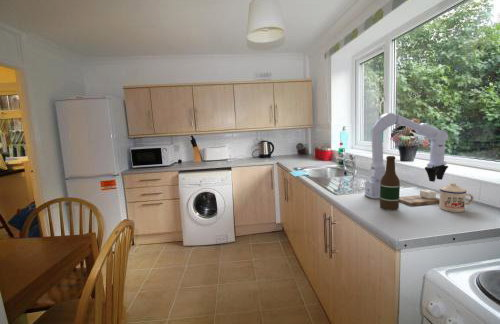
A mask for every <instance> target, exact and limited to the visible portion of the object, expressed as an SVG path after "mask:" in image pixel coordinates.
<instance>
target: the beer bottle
mask: <svg viewBox="0 0 500 324" xmlns="http://www.w3.org/2000/svg"><path fill="white" fill-rule="evenodd" d="M385 159H386V164H385V174H384V176H383V177H382V179H381V184H380V198H379V208H380V209H383V210H384V211H398V210H399V208H400V202H399V197H400V192H401V191H400V185H401V182H400V179H399V177H398V175H397V172H396V156H394V155H387V156H386V157H385Z"/></svg>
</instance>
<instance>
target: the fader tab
mask: <svg viewBox="0 0 500 324" xmlns="http://www.w3.org/2000/svg"><path fill="white" fill-rule="evenodd" d="M419 190H420V191H419V195H420V196H422V197H425V198H428V199H429V198H437V197H436V196H437V191H434V190H430V189H419Z"/></svg>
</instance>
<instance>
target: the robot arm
mask: <svg viewBox="0 0 500 324" xmlns="http://www.w3.org/2000/svg"><path fill="white" fill-rule="evenodd" d="M394 125H401V126H403V127H407V128H410V129H411V130H414V132H415V134H417V135H420V136H422V137H425V138H427V139H429V140H430V148H429V149H430V151H429V152H430V154H429V162H428V163H427V164H426V166H425V167H424V170H425V171H426V173H427V177H428V181H429V182H433V183H435V182H436V180H441V181H442V180H443V178H444V175H445V173H446V171H447V169H449V166H448V165H447V161H446V160H445V151H446V150H445V148H446V141H447V140H448V139H449V135H448V133H447V131H446V130H443V129H439V128H438V127H436V126H435V127H434V126H431V125H429V123H427V122H425V123H424V122H422V123H417V122H415V121H412V120H410V119H409V118H406V117H404V116H403V115H400V114H395V113H393V112H389V113H382V114H381V115H380V116H378V117H377V118H376V121H375V123H374V124H373V125H372V127H371V130H370V131H371V154H372V155H371V157H372V159H371V160H372V162H371V163H370V165H371V166H370V167H371V168H370V169H369V175H370V180H367V181H366V182H364V194H363V195H364V196H365V195H366V196H365V197H368V198H371V199H374V200H375V199H380V184H381V179H382V177H383V176H384V174H385V171H386V165H385V164H384V145H383V144H384V143H383V132H384V131H386V130H387V129H389V128H390V127H391V126H394Z"/></svg>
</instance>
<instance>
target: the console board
mask: <svg viewBox="0 0 500 324" xmlns="http://www.w3.org/2000/svg"><path fill="white" fill-rule="evenodd" d="M439 202H440V197H439V198H438V197H436V198H429V199H428V198H425V197H422V196H420V194H418V195H408V196H407V195H406V196H399V203H402V204H404V205H407V206H409V207H414V206H425V204H426V205H435V204H436V203H437V204H439Z"/></svg>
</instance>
